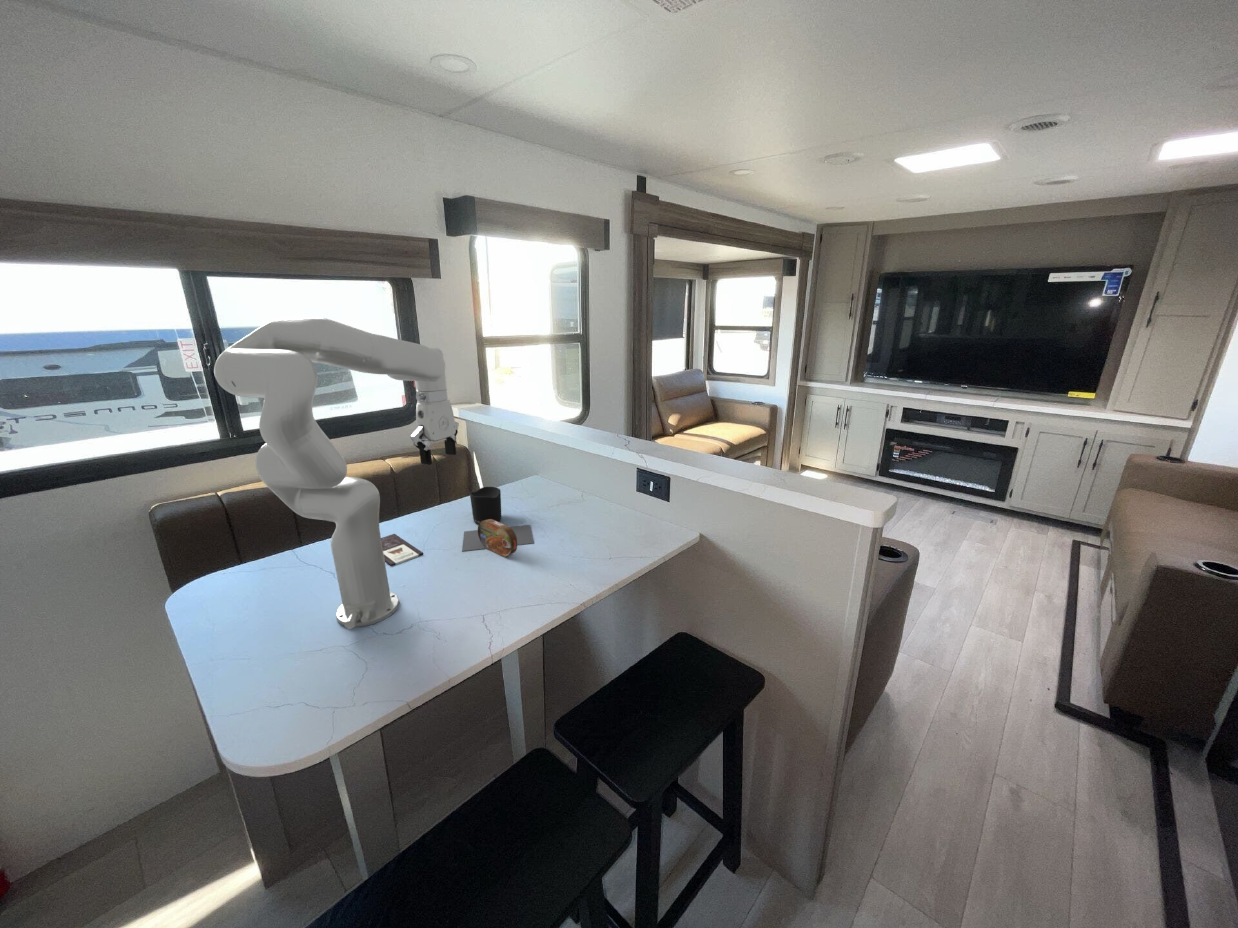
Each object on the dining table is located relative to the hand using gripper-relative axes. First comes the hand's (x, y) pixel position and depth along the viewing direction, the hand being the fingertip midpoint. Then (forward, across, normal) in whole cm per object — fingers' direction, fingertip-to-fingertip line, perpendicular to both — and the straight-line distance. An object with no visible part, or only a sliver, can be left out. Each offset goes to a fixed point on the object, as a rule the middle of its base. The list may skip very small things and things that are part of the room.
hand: (439, 458), depth 131 cm
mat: (+26, +10, -10) cm, 30 cm away
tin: (+26, +3, -15) cm, 30 cm away
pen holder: (+26, +19, 0) cm, 32 cm away
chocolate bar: (+27, -8, +13) cm, 31 cm away
